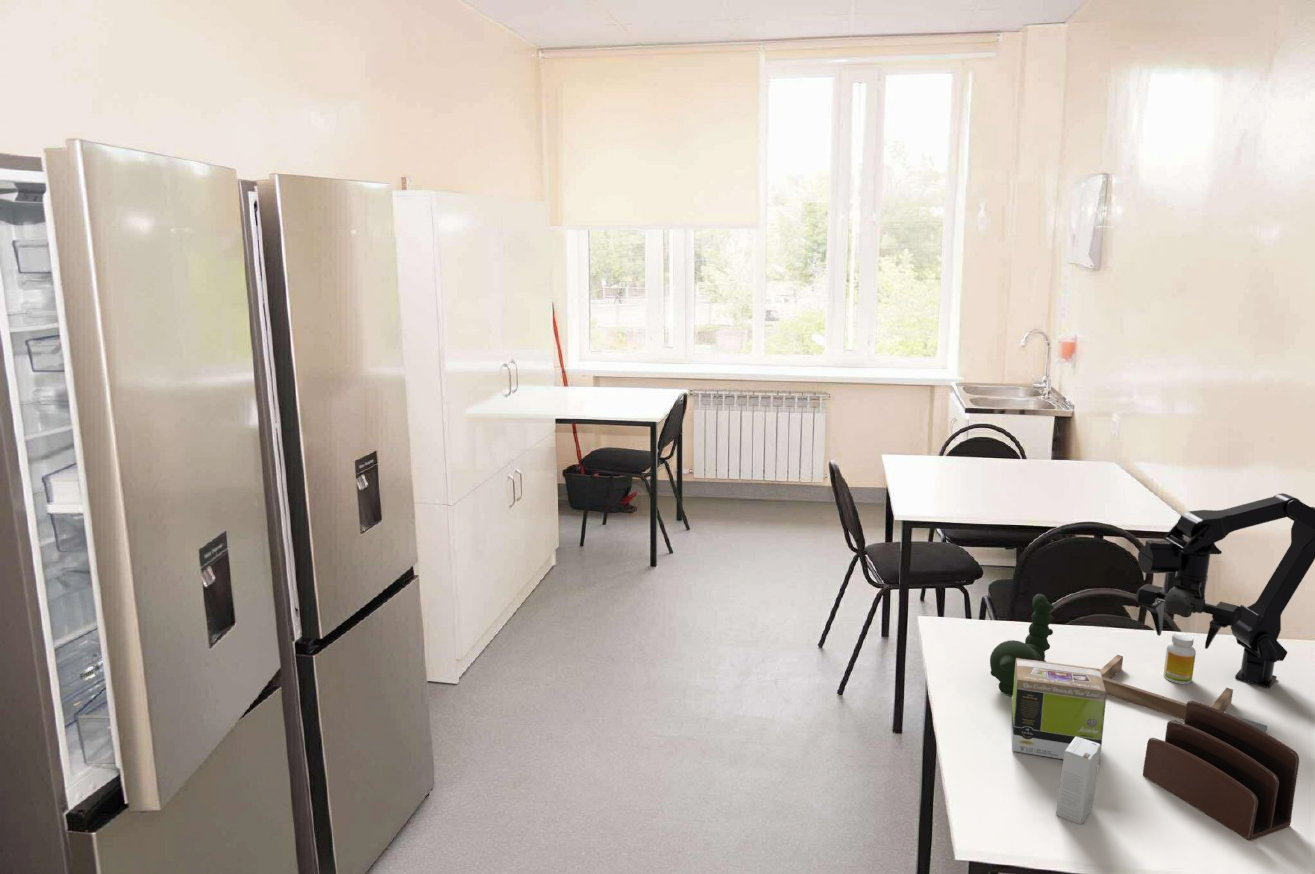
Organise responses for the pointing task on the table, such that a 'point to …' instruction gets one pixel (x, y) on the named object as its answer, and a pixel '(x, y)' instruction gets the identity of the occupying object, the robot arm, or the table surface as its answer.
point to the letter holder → (1226, 770)
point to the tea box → (1055, 707)
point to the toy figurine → (1023, 646)
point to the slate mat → (1252, 723)
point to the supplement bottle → (1180, 659)
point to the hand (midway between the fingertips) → (1182, 641)
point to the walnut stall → (1150, 698)
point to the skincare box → (1078, 779)
